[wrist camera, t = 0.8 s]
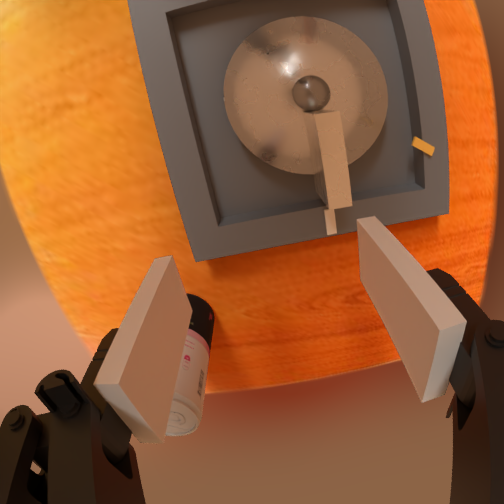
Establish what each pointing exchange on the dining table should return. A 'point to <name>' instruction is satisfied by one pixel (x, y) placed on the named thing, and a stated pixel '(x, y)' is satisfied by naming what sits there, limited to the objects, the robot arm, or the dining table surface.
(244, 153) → the panel
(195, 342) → the beverage can
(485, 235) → the dining table surface
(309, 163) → the dial
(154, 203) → the dining table surface
